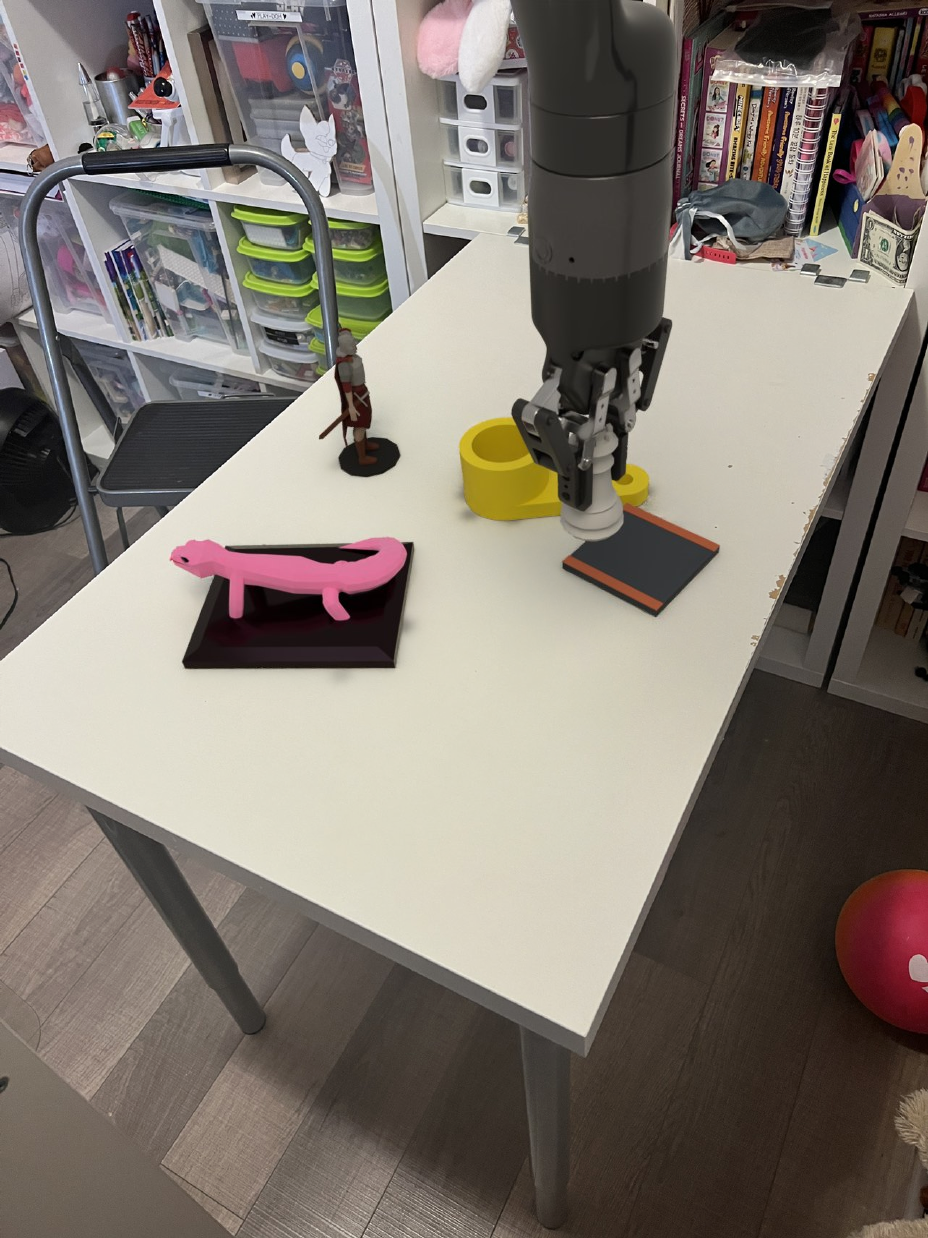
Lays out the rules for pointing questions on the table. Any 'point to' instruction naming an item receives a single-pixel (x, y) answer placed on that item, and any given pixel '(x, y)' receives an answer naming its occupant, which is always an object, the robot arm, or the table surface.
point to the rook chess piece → (597, 495)
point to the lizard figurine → (298, 604)
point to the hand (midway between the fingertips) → (593, 488)
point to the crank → (520, 475)
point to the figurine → (358, 416)
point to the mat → (643, 560)
